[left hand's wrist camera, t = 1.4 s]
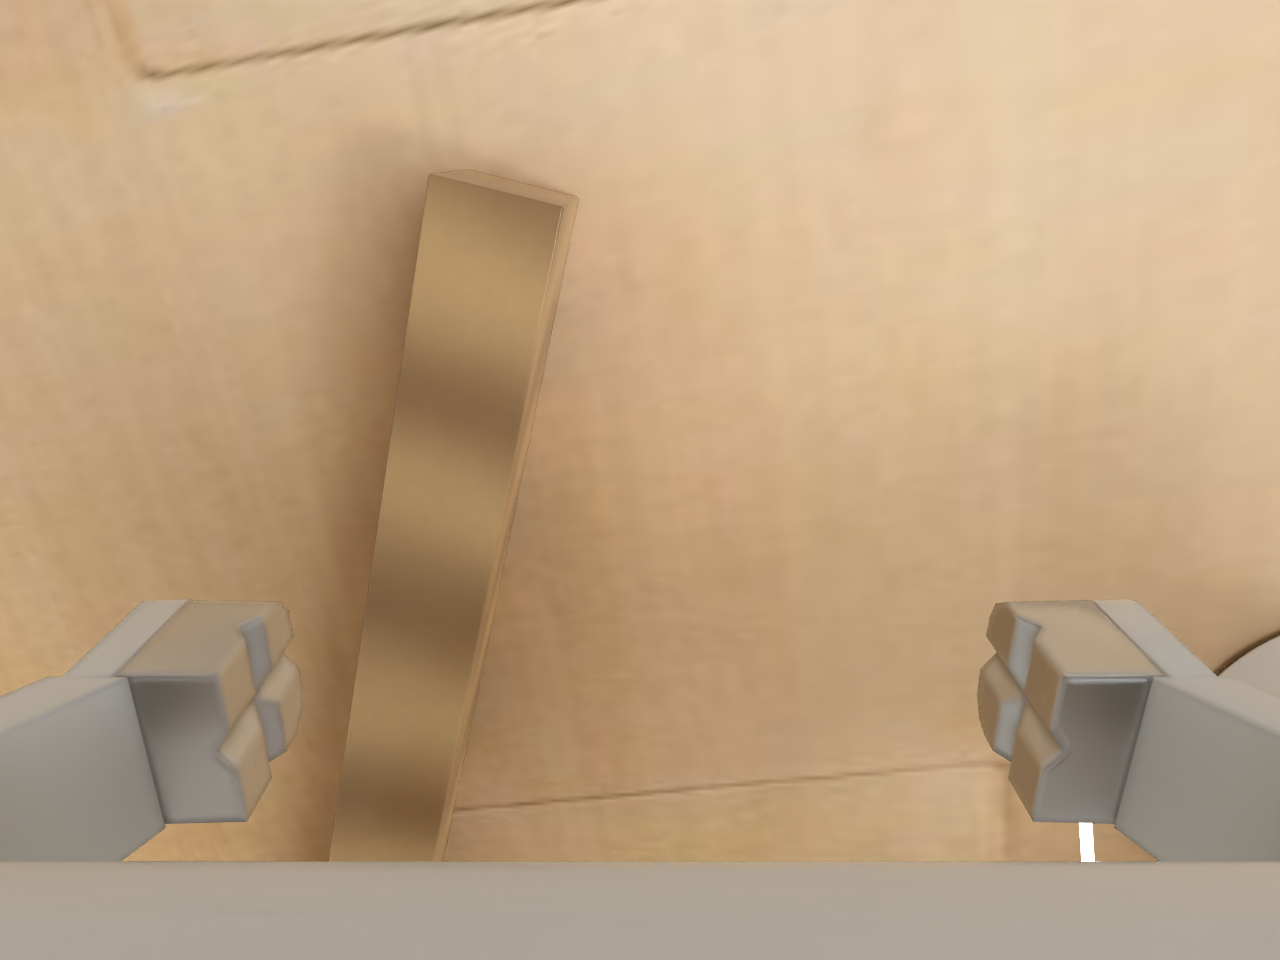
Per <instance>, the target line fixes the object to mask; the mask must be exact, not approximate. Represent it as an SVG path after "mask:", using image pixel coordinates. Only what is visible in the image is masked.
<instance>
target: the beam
mask: <svg viewBox="0 0 1280 960" xmlns="http://www.w3.org/2000/svg"><path fill="white" fill-rule="evenodd" d="M578 201H579V199H578V197H576V196H572V195H568V194H564V193H560V192H556V191H552V190H548V189H544V188H540V187H536V186H532V185H528V184H524V183H520V182H516V181H512V180H508V179H504V178H500V177H496V176H492V175H488V174H484V173H480V172H476V171H472V170H461V171H452V172H442V173H433V174H430V175H429V177H428V184H427V191H426V198H425V205H424V211H423V218H422V225H421V232H420V239H419V246H418V253H417V259H416V266H415V273H414V280H413V287H412V294H411V301H410V307H409V314H408V321H407V328H406V335H405V342H404V348H403V355H402V362H401V369H400V376H399V383H398V390H397V396H396V403H395V410H394V417H393V424H392V431H391V437H390V444H389V451H388V458H387V465H386V472H385V479H384V485H383V492H382V499H381V506H380V513H379V520H378V526H377V533H376V540H375V547H374V554H373V561H372V568H371V574H370V581H369V588H368V595H367V602H366V609H365V616H364V622H363V629H362V636H361V643H360V650H359V657H358V663H357V670H356V677H355V684H354V691H353V698H352V705H351V711H350V718H349V725H348V732H347V739H346V746H345V752H344V759H343V766H342V773H341V780H340V787H339V794H338V800H337V807H336V814H335V821H334V828H333V835H332V842H331V848H330V855H329V861H443V860H444V855H445V851H446V846H447V841H448V836H449V831H450V826H451V821H452V816H453V811H454V807H455V802H456V797H457V792H458V787H459V782H460V777H461V772H462V767H463V763H464V758H465V753H466V748H467V743H468V738H469V733H470V728H471V724H472V719H473V714H474V709H475V704H476V699H477V694H478V689H479V684H480V680H481V675H482V670H483V665H484V660H485V655H486V650H487V645H488V640H489V636H490V631H491V626H492V621H493V616H494V611H495V606H496V601H497V596H498V592H499V587H500V582H501V577H502V572H503V567H504V562H505V557H506V553H507V548H508V543H509V538H510V533H511V528H512V523H513V518H514V513H515V509H516V504H517V499H518V494H519V489H520V484H521V479H522V474H523V469H524V465H525V460H526V455H527V450H528V445H529V440H530V435H531V430H532V426H533V421H534V416H535V411H536V406H537V401H538V396H539V391H540V386H541V382H542V377H543V372H544V367H545V362H546V357H547V352H548V347H549V342H550V338H551V333H552V328H553V323H554V318H555V313H556V308H557V303H558V298H559V294H560V289H561V284H562V279H563V274H564V269H565V264H566V259H567V255H568V250H569V245H570V240H571V235H572V230H573V225H574V220H575V215H576V211H577V206H578Z"/></svg>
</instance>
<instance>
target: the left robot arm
mask: <svg viewBox="0 0 1280 960" xmlns="http://www.w3.org/2000/svg"><path fill="white" fill-rule="evenodd" d="M293 636H294V635H293V630H292V625H291V620H290V616H289V611H288V610H287V608H286V607H285V606H284V605H283V604H282V603H281V602H272V601H219V600H195V601H193V600H191V599H177V600H151V601H143V602H141V603H140V604H139V605H138V606H137V607H136V608H135V609H133V610H132V611H131V612H130V613H129V614H128V615H127V616H126V617H125V618H124V619H123V620H122V621H121V622H120V623H119V624H118V625H117V626H115V627H114V628H113V629H112V630H111V631H110V632H109V633H108V634H107V635H106V636H105V637H104V638H103V639H102V640H101V641H100V642H99V643H97V644H96V645H95V646H94V647H93V648H92V649H91V650H90V651H89V652H88V653H87V654H86V655H85V656H84V657H83V658H82V659H81V660H79V661H78V662H77V663H76V664H75V665H74V666H73V667H72V668H71V669H70V670H69V671H68V672H67V673H66V674H65V675H64V676H63V677H46V678H44V679H41V680H39V681H36V682H34V683H32V684H29V685H27V686H24V687H22V688H20V689H17V690H15V691H12V692H10V693H8V694H5V695H3V696H0V960H1280V636H1278V637H1275V638H1273V639H1271V640H1269V641H1267V642H1265V643H1263V644H1262V645H1260V646H1258V647H1256V648H1255V649H1253V650H1251V651H1250V652H1248V653H1247V654H1245V655H1244V656H1242V657H1241V658H1239V659H1238V660H1237V661H1235V662H1234V663H1233V664H1231V665H1230V666H1229V667H1228V668H1226V669H1225V670H1224V671H1223V672H1222V673H1221V674H1220V675H1219V676H1216V675H1215V674H1214V673H1213V672H1212V671H1211V670H1210V669H1209V668H1208V667H1207V666H1206V665H1205V664H1204V663H1203V662H1202V661H1201V660H1200V659H1198V658H1197V657H1196V656H1195V655H1194V654H1193V653H1192V652H1191V651H1190V650H1189V649H1188V648H1187V647H1186V646H1185V645H1184V644H1183V643H1182V642H1181V641H1179V640H1178V639H1177V638H1176V637H1175V636H1174V635H1173V634H1172V633H1171V632H1170V631H1169V630H1168V629H1167V628H1166V627H1165V626H1164V625H1163V624H1162V623H1160V622H1159V621H1158V620H1157V619H1156V618H1155V617H1154V616H1153V615H1152V614H1151V613H1150V612H1149V611H1148V610H1147V609H1146V608H1145V607H1144V606H1143V605H1141V604H1140V603H1139V602H1136V601H1133V600H1130V599H1115V600H1074V601H1032V602H1004V603H997V604H995V606H994V609H993V611H992V613H991V615H990V618H989V624H988V629H987V634H986V636H987V638H988V639H989V641H990V642H991V644H992V646H993V647H994V649H995V650H996V652H997V653H996V654H995V655H994V656H993V657H992V658H991V659H990V660H989V661H988V662H987V663H986V664H985V665H984V666H983V667H982V668H981V670H980V677H979V685H978V692H977V697H978V709H979V719H980V722H981V725H982V728H983V732H984V735H985V737H986V739H987V740H988V742H989V744H990V746H991V748H992V750H993V751H995V752H996V753H998V754H999V755H1001V756H1002V757H1004V758H1006V759H1007V760H1009V761H1010V762H1011V766H1010V771H1009V777H1008V778H1009V780H1010V782H1011V784H1012V785H1013V787H1014V789H1015V790H1016V792H1017V794H1018V796H1019V797H1020V799H1021V801H1022V803H1023V804H1024V806H1025V808H1026V810H1027V811H1028V813H1029V815H1030V817H1031V818H1032V820H1033V822H1066V823H1079V830H1080V845H1081V860H1082V861H122V860H123V859H125V858H126V857H127V856H129V855H130V854H131V853H133V852H134V851H135V850H137V849H138V848H139V847H141V846H142V845H143V844H145V843H146V842H147V841H149V840H150V839H151V838H153V837H154V836H155V835H157V834H158V833H159V832H161V831H162V830H163V829H164V828H165V824H177V823H213V822H247V820H248V818H249V817H250V815H251V813H252V811H253V810H254V808H255V806H256V804H257V803H258V801H259V799H260V797H261V796H262V794H263V792H264V790H265V789H266V787H267V785H268V783H269V782H270V780H271V778H272V777H271V772H270V766H269V762H270V761H271V760H273V759H274V758H276V757H278V756H279V755H281V754H282V753H284V752H285V751H287V750H288V748H289V746H290V744H291V742H292V740H293V738H294V737H295V735H296V733H297V728H298V724H299V720H300V715H301V711H302V683H301V676H300V670H299V668H298V667H297V666H296V665H295V664H294V663H293V662H292V661H291V660H290V659H289V658H288V657H287V656H286V655H285V654H284V653H283V652H284V650H285V649H286V647H287V646H288V644H289V642H290V641H291V639H292V638H293ZM1092 823H1103V824H1115V826H1114V827H1115V828H1116V829H1117V830H1118V831H1120V832H1121V833H1122V834H1124V835H1125V836H1126V837H1128V838H1129V839H1130V840H1132V841H1133V842H1134V843H1136V844H1137V845H1138V846H1140V847H1141V848H1142V849H1144V850H1145V851H1146V852H1148V853H1149V854H1150V855H1151V856H1153V857H1154V858H1155V859H1157V860H1158V861H1094V846H1093V830H1092Z"/></svg>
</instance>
